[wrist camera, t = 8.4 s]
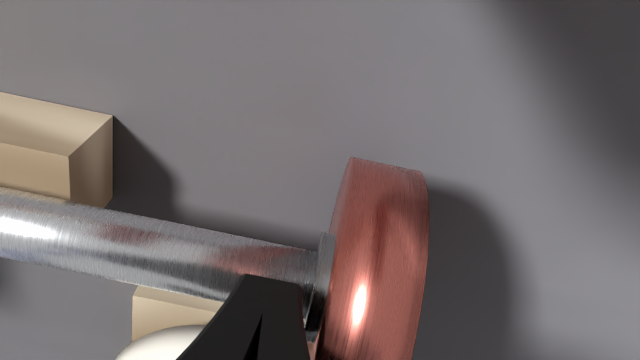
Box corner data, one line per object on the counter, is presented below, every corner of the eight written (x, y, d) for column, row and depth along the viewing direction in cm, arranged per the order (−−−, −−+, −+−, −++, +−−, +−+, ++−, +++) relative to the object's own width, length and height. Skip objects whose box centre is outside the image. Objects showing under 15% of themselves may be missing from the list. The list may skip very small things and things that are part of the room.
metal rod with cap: (370, 308, 17) (369, 511, 12) (-108, 211, 17) (-338, 372, 12) (428, 130, 14) (463, 293, 9) (-158, 6, 14) (-508, 93, 8)
